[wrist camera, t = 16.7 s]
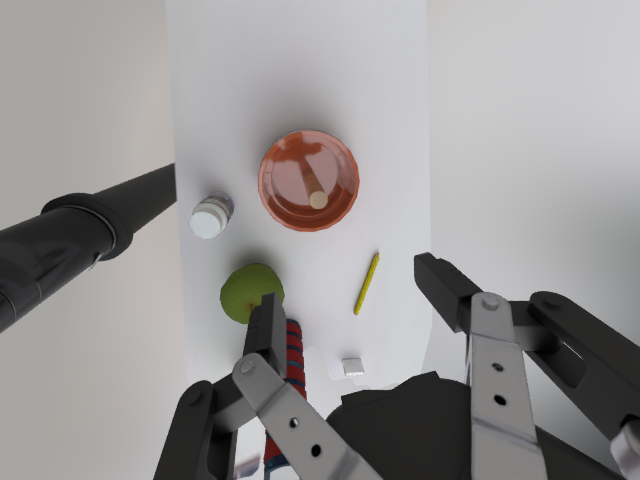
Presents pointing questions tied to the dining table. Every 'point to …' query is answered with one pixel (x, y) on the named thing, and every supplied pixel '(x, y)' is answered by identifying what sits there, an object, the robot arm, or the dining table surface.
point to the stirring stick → (314, 190)
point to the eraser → (353, 367)
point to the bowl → (287, 184)
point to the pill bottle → (211, 215)
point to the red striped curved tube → (277, 468)
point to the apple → (248, 290)
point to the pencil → (366, 283)
